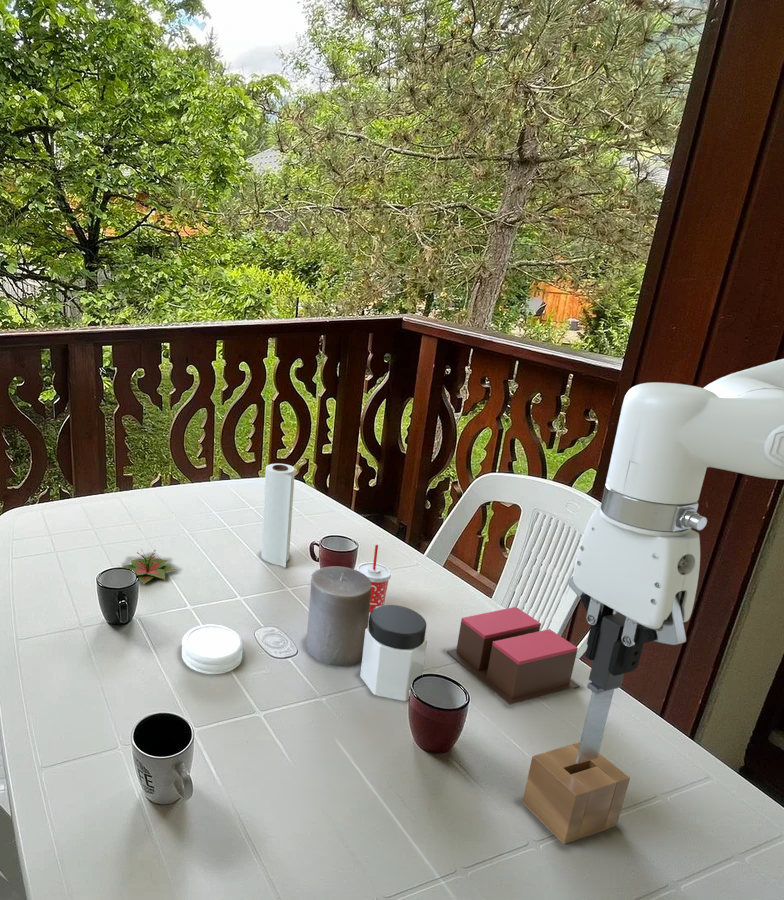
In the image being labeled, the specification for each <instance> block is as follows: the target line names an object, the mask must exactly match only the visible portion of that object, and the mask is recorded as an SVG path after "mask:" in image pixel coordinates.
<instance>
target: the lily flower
mask: <svg viewBox="0 0 784 900" xmlns="http://www.w3.org/2000/svg"><path fill="white" fill-rule="evenodd" d="M149 549H150V548H148V549H147V552H148V551H149ZM140 551H141V552H142V553H144V551H143V549H140ZM156 551H157V549H154V550H153V552H152V553H151V555H149V554H147V555H145V554H141V553H139V552H138V551H137V552H136V554H138V555H139V556H141V557H142V558H141V557H138V558H134V559H130V563H129V564H125V565H123V566H121V567H120V568H127V569H131V570H133V571H134V572H135V573H136V574H137V575H136V577H137V576H138V578H137V579H138V580H139V581H140V583H142V585H145V584H146V583H148V582H150V581H151V580H152V579H154V578H159V579H162V580H164V581H166V573H171V572H174V571H177V569H176V568H174V567H172V566H171V565H166V563H168V562H169V560H167V559H162V558H158V557H157V558H156V556H155V554H156Z"/></svg>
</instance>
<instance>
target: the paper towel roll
mask: <svg viewBox="0 0 784 900" xmlns="http://www.w3.org/2000/svg"><path fill="white" fill-rule="evenodd" d="M295 469H296V468H295V467H294V466H293V465H290V464H286V463H270V464H267V465H266V466H265V471H264V472H265V476H264V495H263V511H262V512H263V513H262V532H261V534H262V535H261V551H260V552H261V553H260V554H261V556H260V557H261V559H262V560H263V561H265V562H267V563H270V564H271V565H272V564H273V565H276V566H280V567H283V568H287V562H288V561H289V560H290V548H291V536H292V535H291V534H292V518H293V504H294V488H295V473H296V470H295Z"/></svg>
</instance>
